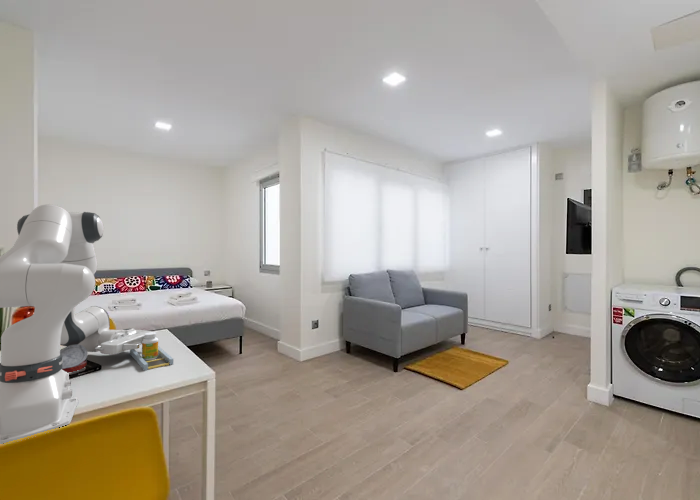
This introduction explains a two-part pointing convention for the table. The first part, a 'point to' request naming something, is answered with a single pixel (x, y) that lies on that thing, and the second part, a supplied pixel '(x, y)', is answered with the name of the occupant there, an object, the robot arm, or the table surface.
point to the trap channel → (152, 364)
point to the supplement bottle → (150, 346)
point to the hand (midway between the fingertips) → (147, 342)
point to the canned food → (74, 357)
